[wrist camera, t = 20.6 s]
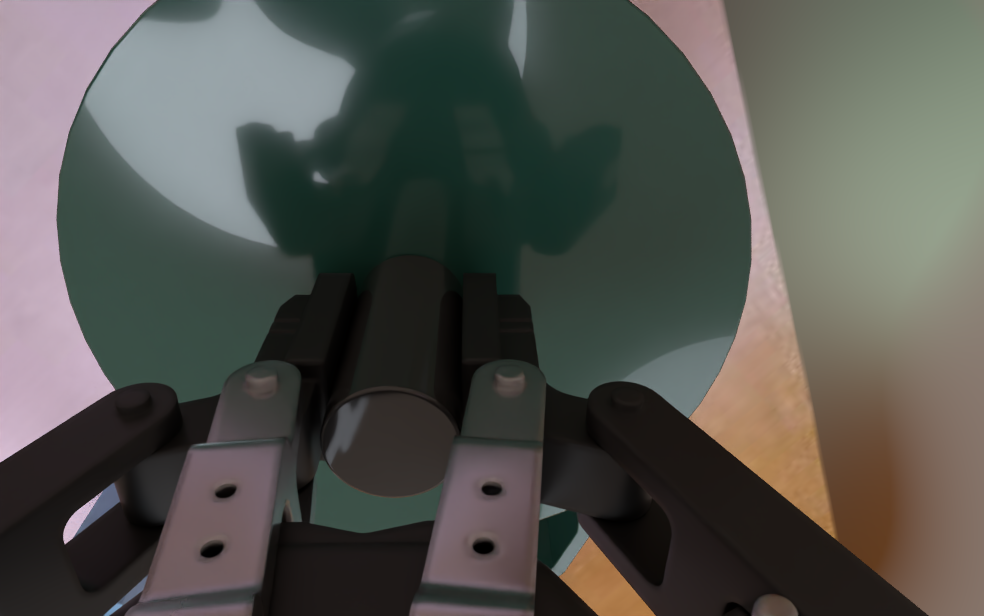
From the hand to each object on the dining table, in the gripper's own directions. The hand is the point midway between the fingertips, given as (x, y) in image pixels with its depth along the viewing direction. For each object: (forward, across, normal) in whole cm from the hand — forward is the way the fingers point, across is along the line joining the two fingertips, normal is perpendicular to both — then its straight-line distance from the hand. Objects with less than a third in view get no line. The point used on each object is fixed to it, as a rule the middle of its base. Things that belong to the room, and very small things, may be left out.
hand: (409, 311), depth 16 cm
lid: (+1, 0, 0) cm, 1 cm away
